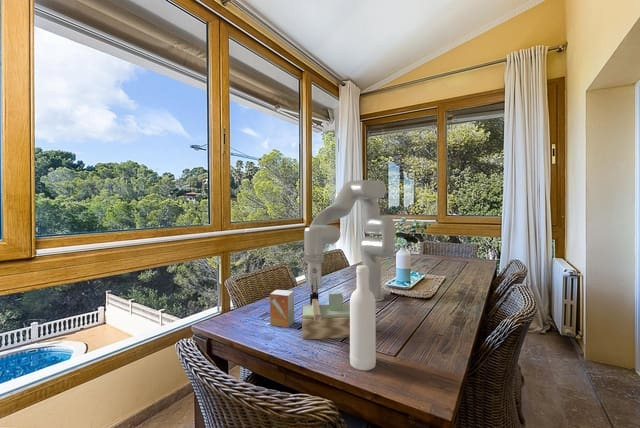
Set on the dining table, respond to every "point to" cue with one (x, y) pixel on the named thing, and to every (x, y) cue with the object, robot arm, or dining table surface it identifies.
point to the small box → (282, 308)
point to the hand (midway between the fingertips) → (314, 303)
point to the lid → (329, 308)
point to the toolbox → (325, 327)
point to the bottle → (362, 323)
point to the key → (316, 311)
